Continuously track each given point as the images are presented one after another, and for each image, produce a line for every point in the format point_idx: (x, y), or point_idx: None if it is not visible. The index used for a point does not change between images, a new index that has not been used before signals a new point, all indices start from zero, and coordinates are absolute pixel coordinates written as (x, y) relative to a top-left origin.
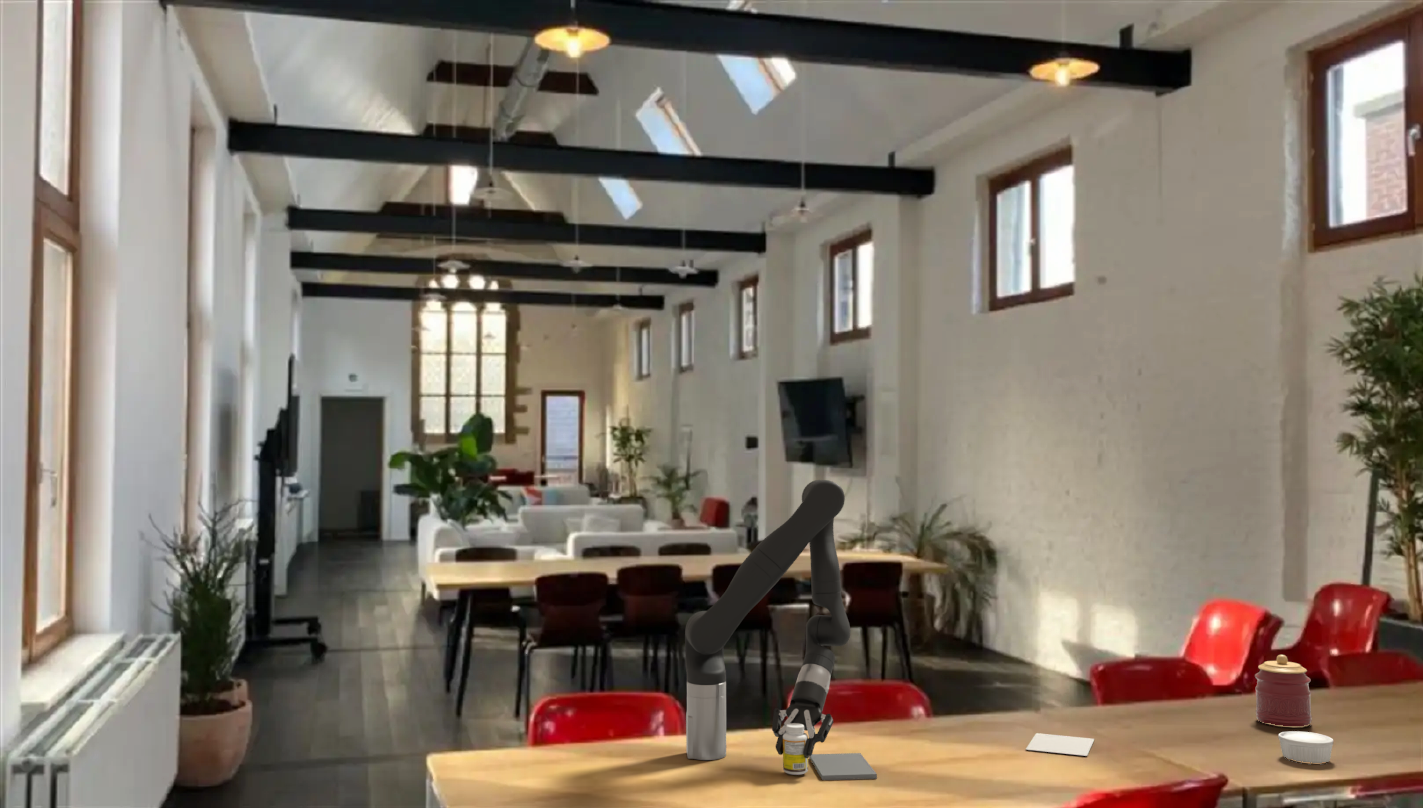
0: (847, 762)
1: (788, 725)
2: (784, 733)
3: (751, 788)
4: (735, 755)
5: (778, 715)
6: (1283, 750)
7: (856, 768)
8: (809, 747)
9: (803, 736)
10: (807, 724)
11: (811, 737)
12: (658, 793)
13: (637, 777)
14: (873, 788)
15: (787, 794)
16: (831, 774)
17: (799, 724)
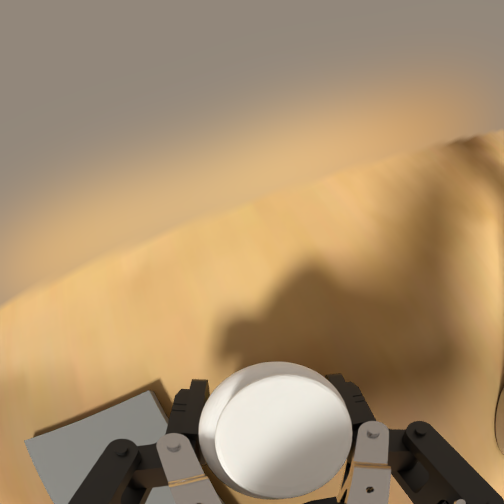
0: None
1: (327, 403)
2: (354, 441)
3: (312, 238)
4: (482, 464)
5: (459, 492)
6: None
7: None
8: (182, 406)
9: (209, 409)
10: (207, 496)
11: (171, 436)
12: (422, 162)
13: (498, 219)
14: (24, 355)
15: (207, 231)
16: (125, 410)
17: (263, 471)
